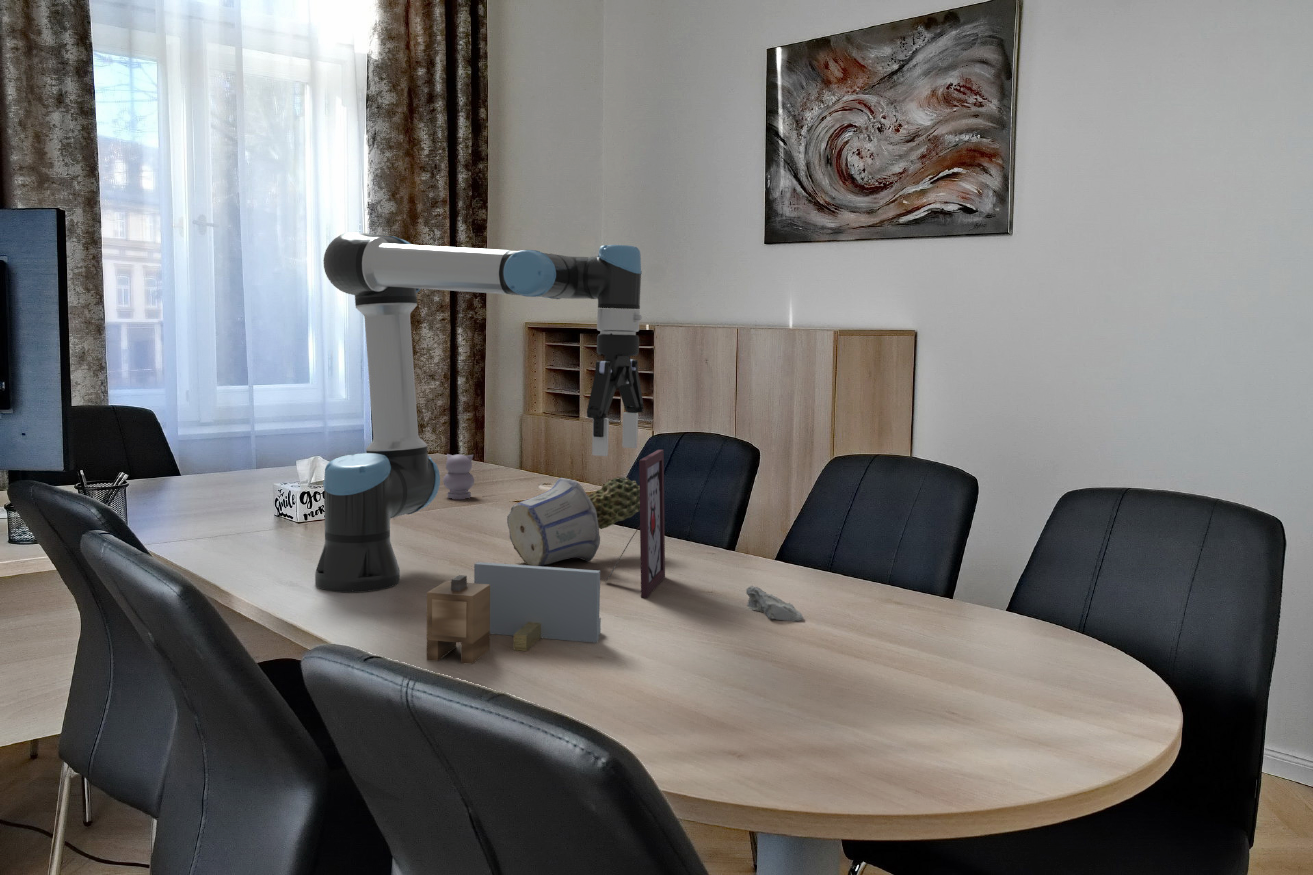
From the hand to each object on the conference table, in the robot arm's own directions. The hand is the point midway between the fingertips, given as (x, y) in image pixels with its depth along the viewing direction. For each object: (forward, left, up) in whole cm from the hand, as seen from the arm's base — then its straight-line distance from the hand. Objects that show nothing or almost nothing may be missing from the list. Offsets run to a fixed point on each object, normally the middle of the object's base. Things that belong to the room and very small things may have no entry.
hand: (615, 451), depth 193 cm
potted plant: (-13, +25, -26) cm, 39 cm away
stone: (+30, -6, -27) cm, 40 cm away
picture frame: (+2, +6, -26) cm, 27 cm away
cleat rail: (-5, -34, -26) cm, 43 cm away
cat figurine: (-66, +88, -26) cm, 113 cm away
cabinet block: (-13, -42, -26) cm, 51 cm away
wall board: (-5, -28, -26) cm, 38 cm away
